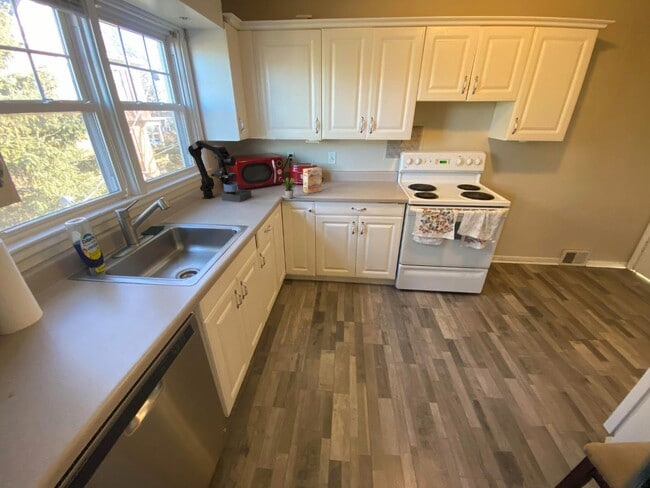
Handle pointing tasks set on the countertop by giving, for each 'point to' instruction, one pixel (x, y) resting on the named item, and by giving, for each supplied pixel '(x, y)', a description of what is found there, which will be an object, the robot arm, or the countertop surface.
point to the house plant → (289, 188)
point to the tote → (236, 195)
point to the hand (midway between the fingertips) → (225, 186)
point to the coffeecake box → (312, 180)
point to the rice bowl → (231, 187)
